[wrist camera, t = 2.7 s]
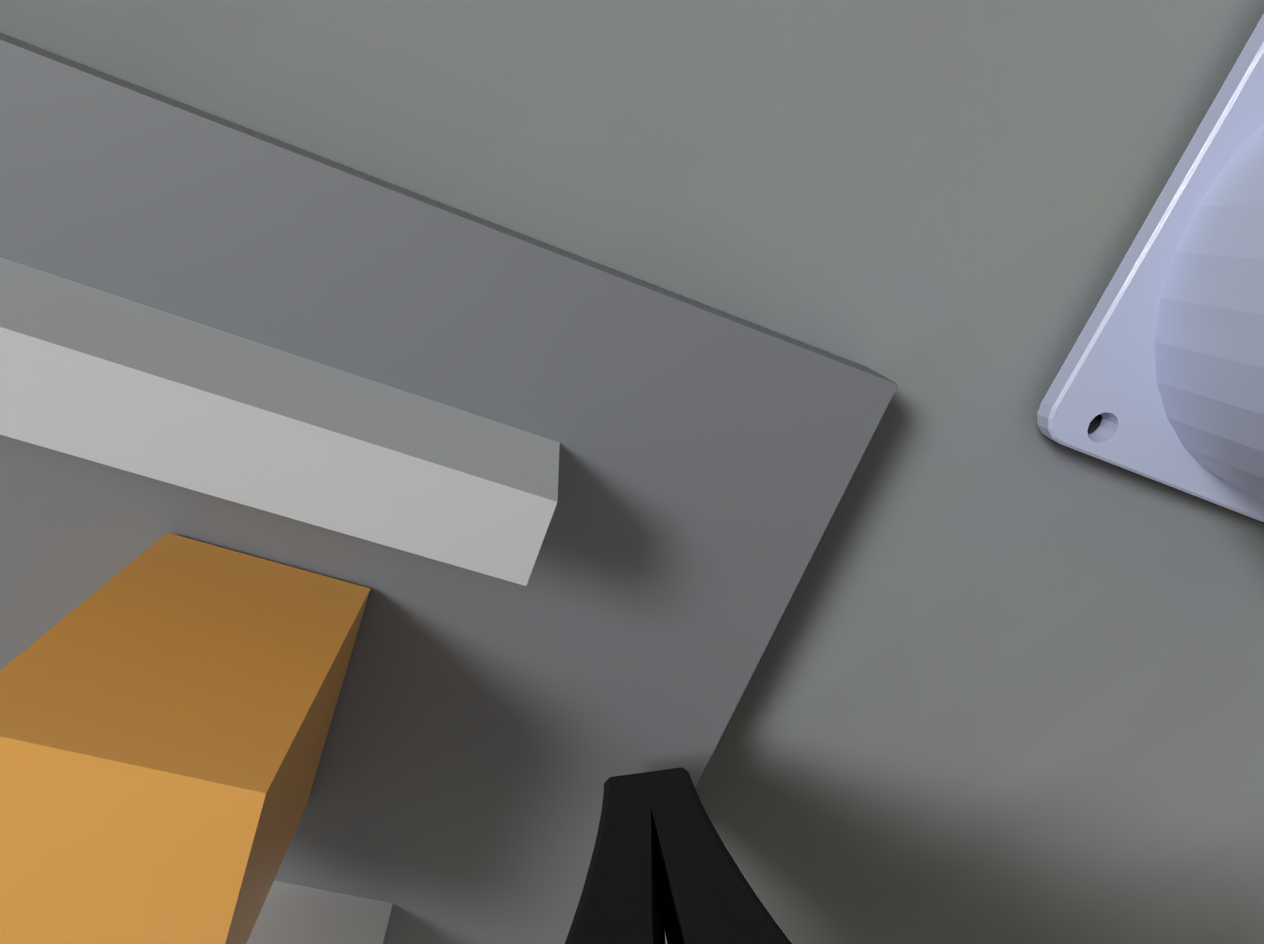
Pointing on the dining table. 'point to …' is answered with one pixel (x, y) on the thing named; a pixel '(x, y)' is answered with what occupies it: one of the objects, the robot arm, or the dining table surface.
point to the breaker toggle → (167, 747)
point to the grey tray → (403, 482)
